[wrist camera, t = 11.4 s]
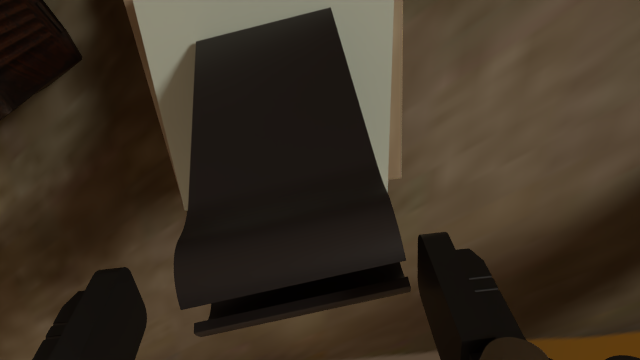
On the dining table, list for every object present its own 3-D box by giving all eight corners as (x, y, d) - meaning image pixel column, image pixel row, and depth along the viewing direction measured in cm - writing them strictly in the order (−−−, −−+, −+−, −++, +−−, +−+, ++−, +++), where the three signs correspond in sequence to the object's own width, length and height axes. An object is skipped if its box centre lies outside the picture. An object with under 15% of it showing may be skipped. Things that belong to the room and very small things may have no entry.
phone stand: (365, 179, 24) (426, 379, 14) (256, 203, 25) (238, 417, 14) (331, 5, 20) (384, 116, 10) (197, 38, 20) (108, 180, 10)
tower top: (378, -35, 23) (394, -23, 19) (375, 160, 29) (387, 195, 25) (154, -21, 22) (131, -6, 19) (197, 173, 28) (184, 210, 25)
